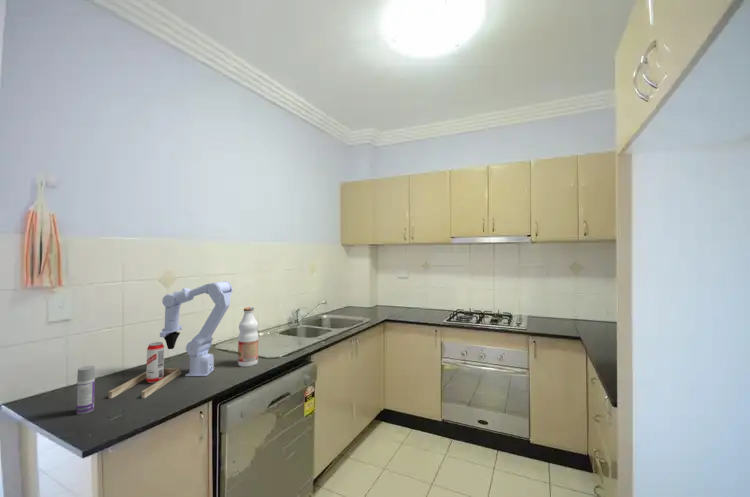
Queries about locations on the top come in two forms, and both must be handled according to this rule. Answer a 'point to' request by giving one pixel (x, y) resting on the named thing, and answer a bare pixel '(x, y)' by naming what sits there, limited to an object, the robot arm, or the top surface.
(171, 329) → the robot arm
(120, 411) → the top surface
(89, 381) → the container
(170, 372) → the u rest
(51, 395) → the top surface
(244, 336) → the fruit juice
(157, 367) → the beer can
